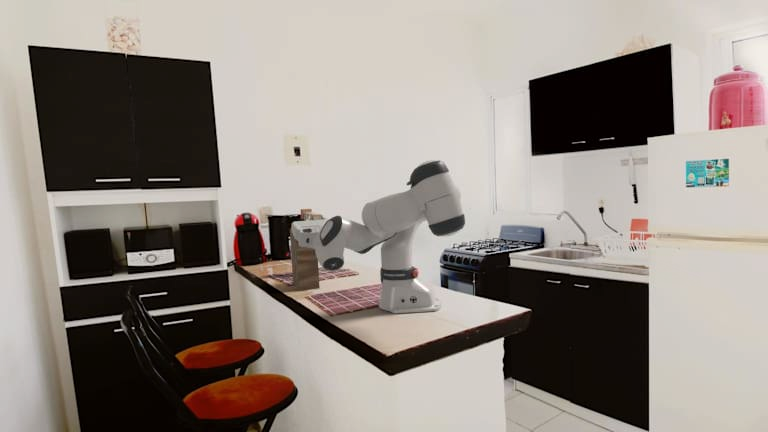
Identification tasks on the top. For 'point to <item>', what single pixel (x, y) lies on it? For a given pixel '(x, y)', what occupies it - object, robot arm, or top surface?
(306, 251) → the stand
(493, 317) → the top surface
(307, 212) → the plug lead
